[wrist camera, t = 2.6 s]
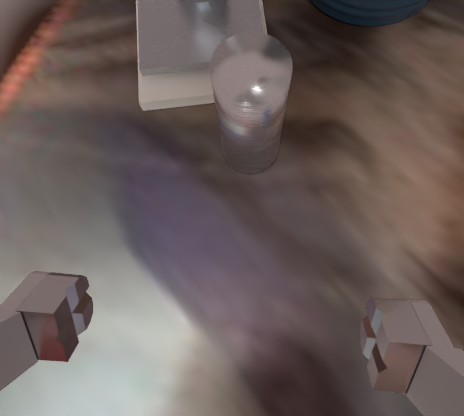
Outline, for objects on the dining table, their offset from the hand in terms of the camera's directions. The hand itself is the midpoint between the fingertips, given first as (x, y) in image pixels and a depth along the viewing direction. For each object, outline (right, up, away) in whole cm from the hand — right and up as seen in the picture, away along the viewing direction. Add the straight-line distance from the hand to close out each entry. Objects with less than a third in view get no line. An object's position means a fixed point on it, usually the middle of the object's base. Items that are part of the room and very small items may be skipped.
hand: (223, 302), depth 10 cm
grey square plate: (-2, +19, +20) cm, 28 cm away
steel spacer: (+2, +7, +18) cm, 20 cm away
